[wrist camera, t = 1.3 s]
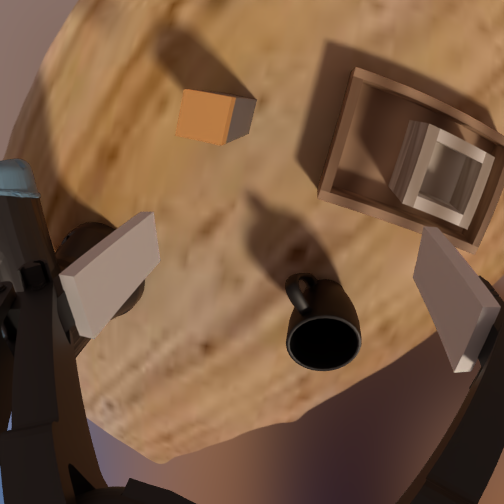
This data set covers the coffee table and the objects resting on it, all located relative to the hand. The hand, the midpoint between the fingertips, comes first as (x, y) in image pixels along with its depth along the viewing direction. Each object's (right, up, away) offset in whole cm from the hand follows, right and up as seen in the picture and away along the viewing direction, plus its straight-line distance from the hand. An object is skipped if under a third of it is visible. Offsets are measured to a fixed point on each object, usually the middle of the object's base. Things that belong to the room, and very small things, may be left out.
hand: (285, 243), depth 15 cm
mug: (+7, -5, +26) cm, 27 cm away
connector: (-3, +15, +18) cm, 24 cm away
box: (+17, +10, +17) cm, 26 cm away
